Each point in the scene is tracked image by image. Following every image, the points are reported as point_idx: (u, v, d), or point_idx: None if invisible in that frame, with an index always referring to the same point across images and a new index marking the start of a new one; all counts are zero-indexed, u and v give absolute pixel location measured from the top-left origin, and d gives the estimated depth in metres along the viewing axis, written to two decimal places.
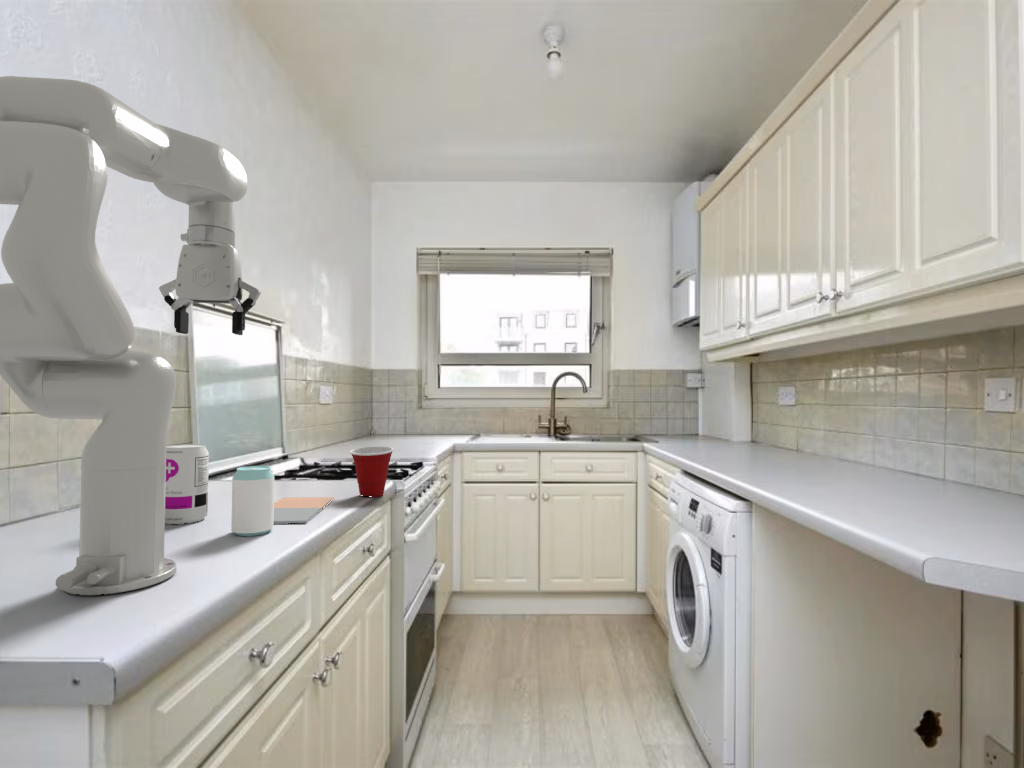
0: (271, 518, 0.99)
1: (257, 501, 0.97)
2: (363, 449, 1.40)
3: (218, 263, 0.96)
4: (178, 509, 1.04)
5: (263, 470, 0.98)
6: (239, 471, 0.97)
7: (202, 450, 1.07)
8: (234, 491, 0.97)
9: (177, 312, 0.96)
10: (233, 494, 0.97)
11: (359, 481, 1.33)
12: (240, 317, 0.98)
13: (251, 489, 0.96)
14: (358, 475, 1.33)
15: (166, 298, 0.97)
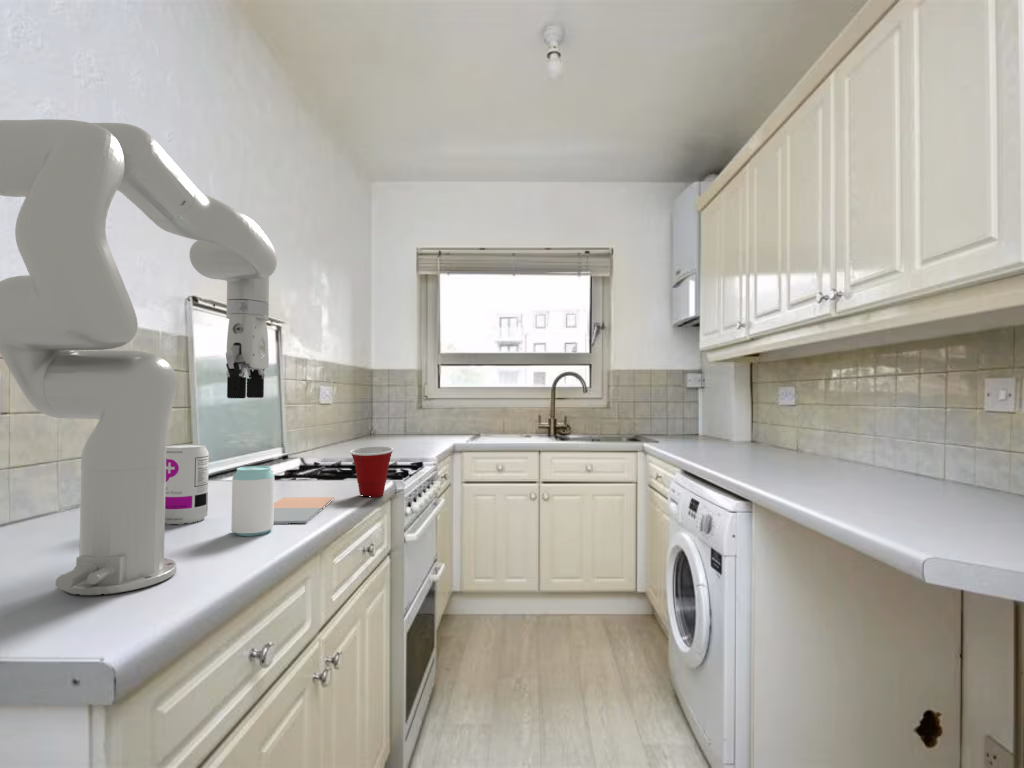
0: (271, 518, 0.99)
1: (257, 501, 0.97)
2: (363, 449, 1.40)
3: (265, 336, 1.09)
4: (178, 509, 1.04)
5: (263, 470, 0.98)
6: (239, 471, 0.97)
7: (202, 450, 1.07)
8: (234, 491, 0.97)
9: (245, 379, 1.01)
10: (233, 494, 0.97)
11: (359, 481, 1.33)
12: None
13: (251, 489, 0.96)
14: (358, 475, 1.33)
15: (237, 365, 0.99)
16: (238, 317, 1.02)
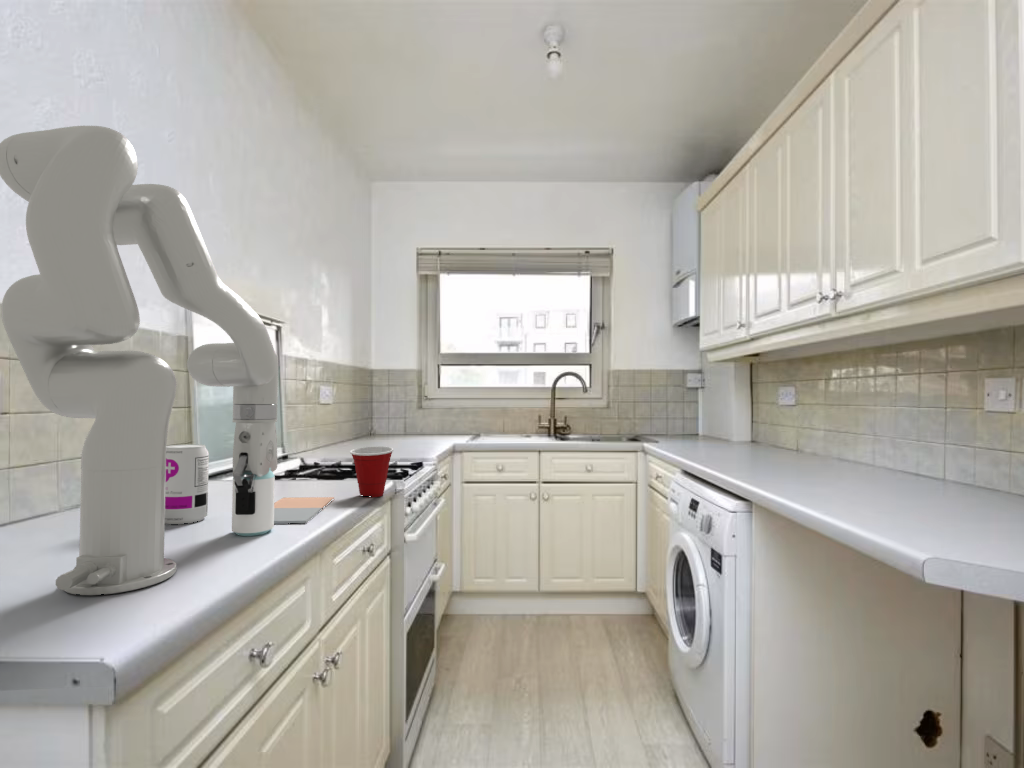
0: (271, 518, 0.99)
1: (257, 501, 0.97)
2: (363, 449, 1.40)
3: (274, 438, 1.02)
4: (178, 508, 1.04)
5: None
6: None
7: (202, 450, 1.07)
8: (234, 491, 0.97)
9: (254, 494, 0.96)
10: (233, 494, 0.97)
11: (359, 481, 1.33)
12: None
13: None
14: (358, 475, 1.33)
15: (246, 482, 0.94)
16: (245, 424, 0.95)
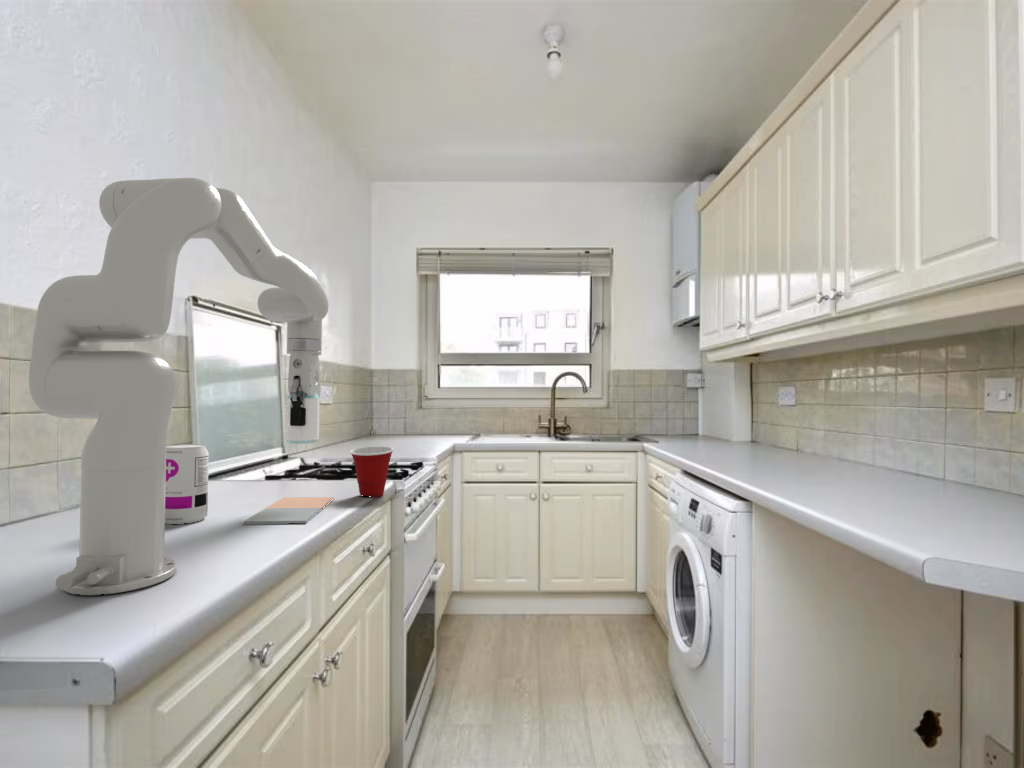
0: (317, 431, 1.23)
1: (307, 415, 1.21)
2: (363, 449, 1.40)
3: (318, 368, 1.26)
4: (178, 509, 1.04)
5: None
6: None
7: (202, 450, 1.07)
8: (289, 408, 1.21)
9: (305, 409, 1.20)
10: (288, 410, 1.21)
11: (359, 481, 1.33)
12: None
13: None
14: (358, 475, 1.33)
15: (299, 398, 1.18)
16: (297, 353, 1.19)
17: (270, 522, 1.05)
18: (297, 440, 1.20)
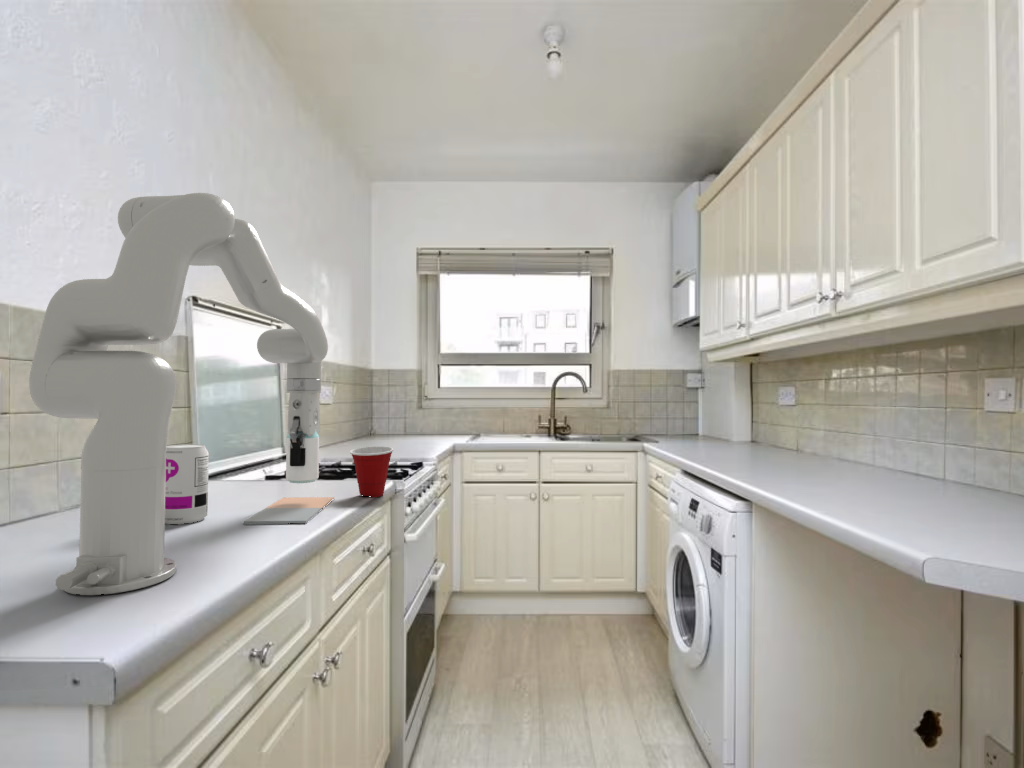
0: (317, 470, 1.24)
1: (307, 455, 1.21)
2: (363, 449, 1.40)
3: (318, 406, 1.26)
4: (178, 509, 1.04)
5: None
6: None
7: (202, 450, 1.07)
8: (288, 447, 1.21)
9: None
10: (288, 450, 1.21)
11: (359, 481, 1.33)
12: None
13: None
14: (358, 475, 1.33)
15: (299, 439, 1.18)
16: (297, 394, 1.19)
17: (270, 522, 1.05)
18: (297, 480, 1.20)
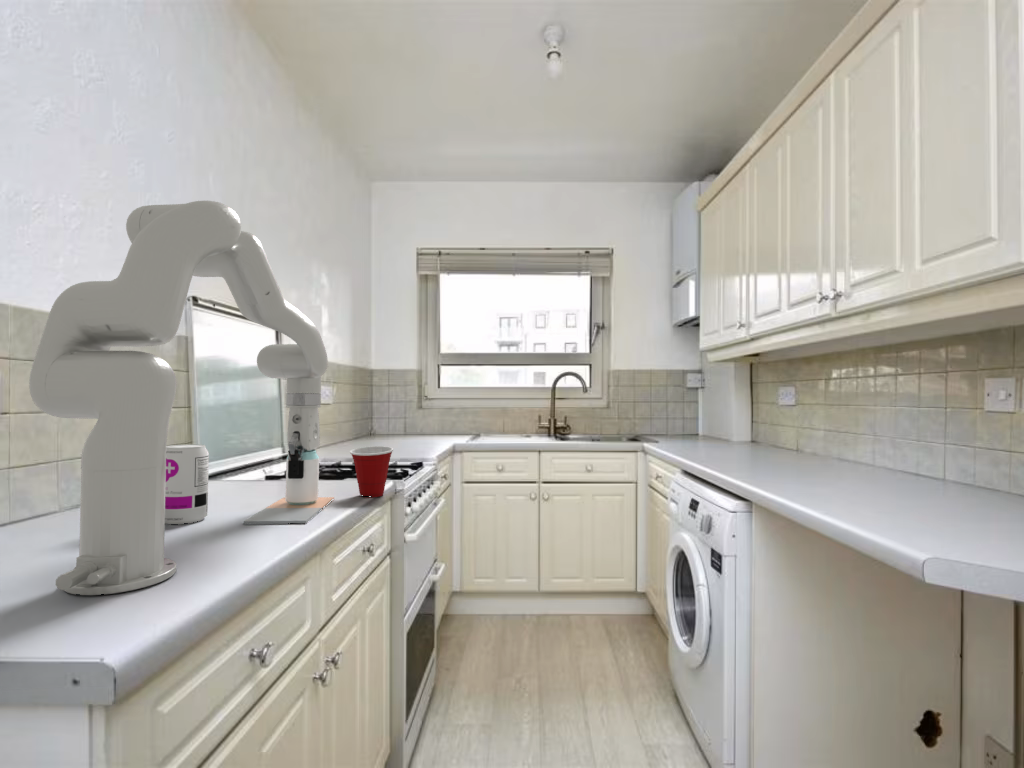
0: (317, 491, 1.23)
1: (306, 477, 1.21)
2: (363, 449, 1.40)
3: (318, 420, 1.26)
4: (178, 508, 1.04)
5: (311, 452, 1.22)
6: None
7: (202, 450, 1.07)
8: None
9: (303, 462, 1.19)
10: (287, 471, 1.21)
11: (359, 481, 1.33)
12: None
13: None
14: (358, 475, 1.33)
15: (297, 452, 1.17)
16: (297, 409, 1.19)
17: (270, 522, 1.05)
18: (296, 502, 1.20)
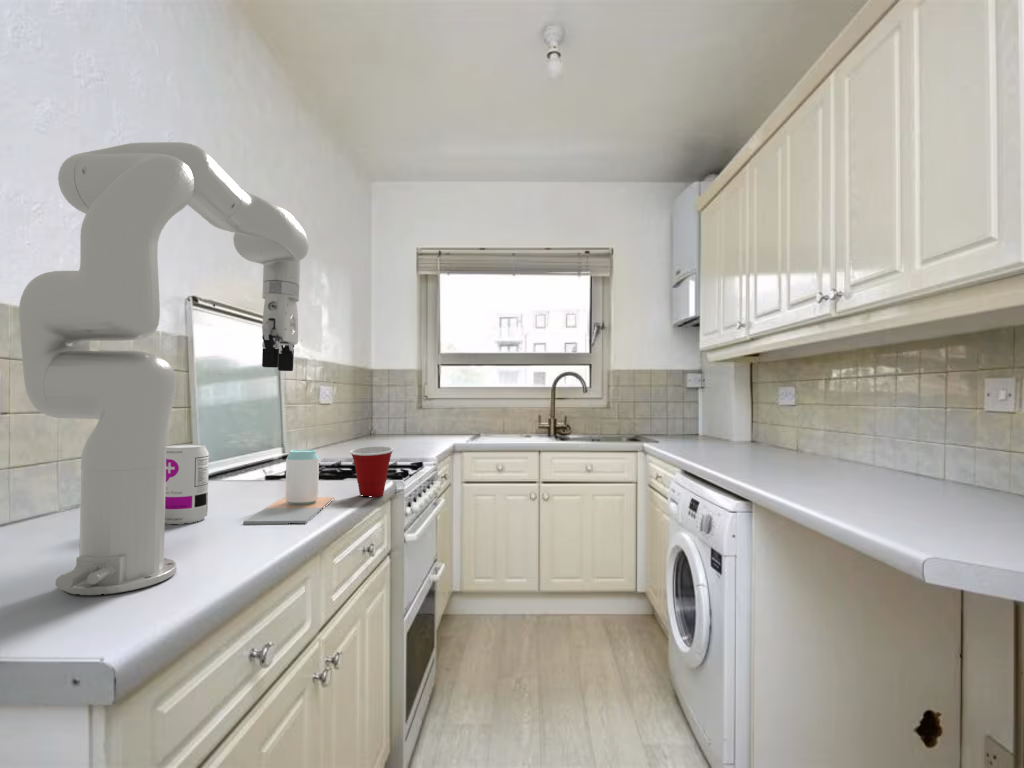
0: (316, 491, 1.23)
1: (306, 476, 1.21)
2: (363, 449, 1.40)
3: (296, 315, 1.22)
4: (178, 509, 1.04)
5: (311, 452, 1.22)
6: (292, 453, 1.21)
7: (202, 450, 1.07)
8: (288, 469, 1.21)
9: (278, 350, 1.14)
10: (287, 471, 1.21)
11: (359, 481, 1.33)
12: None
13: (301, 467, 1.20)
14: (358, 475, 1.33)
15: (272, 337, 1.12)
16: (273, 296, 1.15)
17: (270, 522, 1.05)
18: (296, 502, 1.20)
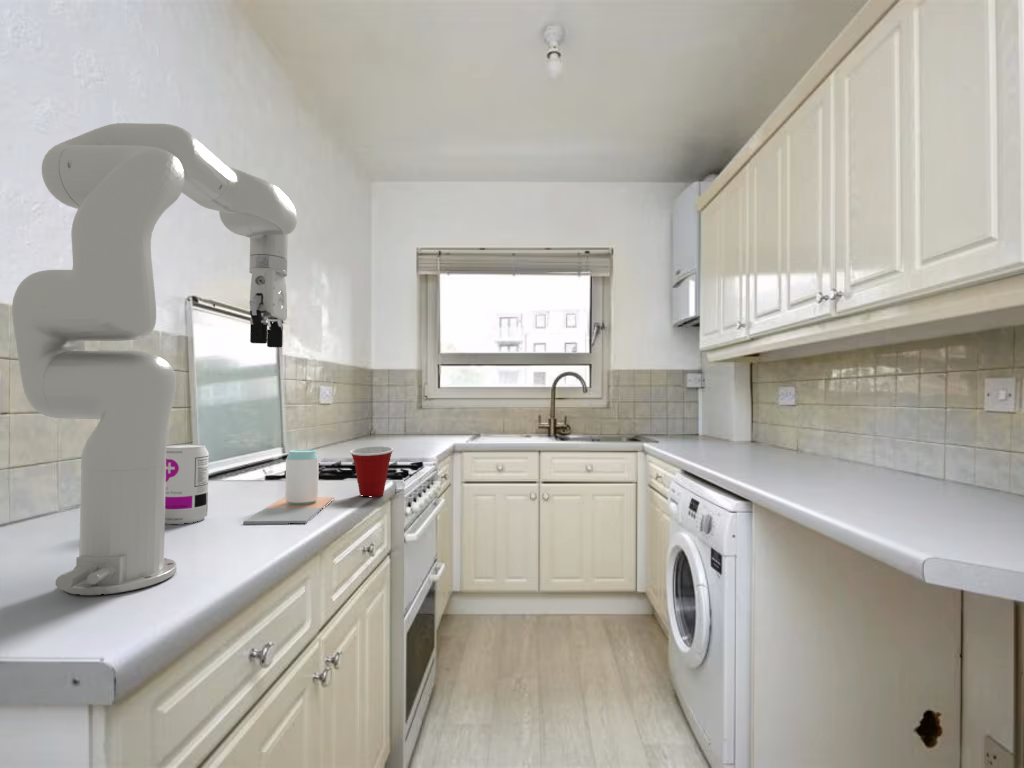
0: (316, 491, 1.23)
1: (306, 477, 1.20)
2: (363, 449, 1.39)
3: (284, 291, 1.19)
4: (178, 509, 1.04)
5: (310, 452, 1.22)
6: (291, 453, 1.21)
7: (202, 450, 1.07)
8: (288, 469, 1.21)
9: (266, 326, 1.12)
10: (287, 471, 1.21)
11: (359, 481, 1.33)
12: None
13: (301, 467, 1.20)
14: (358, 475, 1.33)
15: (259, 312, 1.10)
16: (260, 270, 1.12)
17: (270, 522, 1.05)
18: (296, 502, 1.20)
